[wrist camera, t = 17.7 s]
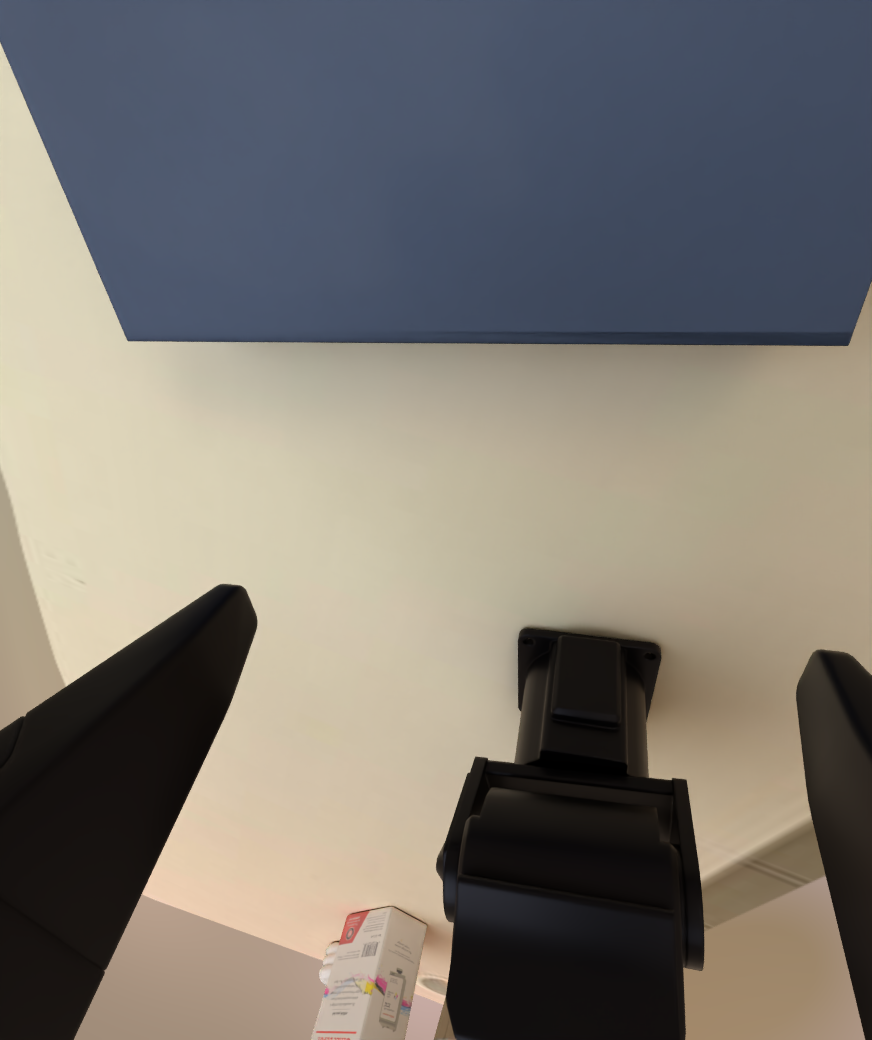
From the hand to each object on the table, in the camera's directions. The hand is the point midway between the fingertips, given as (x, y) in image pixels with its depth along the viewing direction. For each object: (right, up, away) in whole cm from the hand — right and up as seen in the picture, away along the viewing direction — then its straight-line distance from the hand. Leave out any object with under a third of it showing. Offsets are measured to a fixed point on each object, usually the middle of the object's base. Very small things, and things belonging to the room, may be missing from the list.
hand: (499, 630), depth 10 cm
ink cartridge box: (-6, -40, +53) cm, 66 cm away
